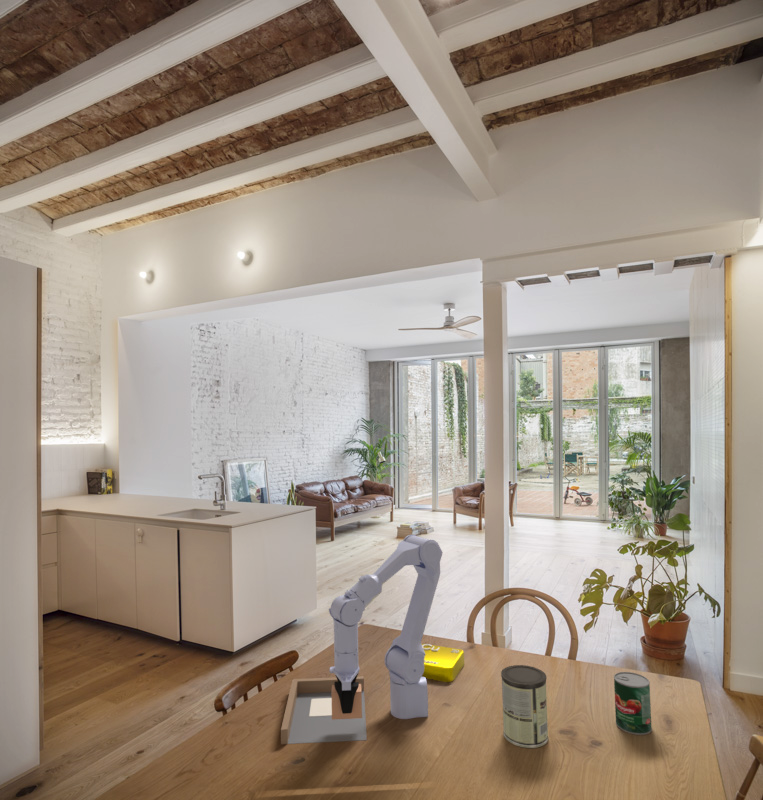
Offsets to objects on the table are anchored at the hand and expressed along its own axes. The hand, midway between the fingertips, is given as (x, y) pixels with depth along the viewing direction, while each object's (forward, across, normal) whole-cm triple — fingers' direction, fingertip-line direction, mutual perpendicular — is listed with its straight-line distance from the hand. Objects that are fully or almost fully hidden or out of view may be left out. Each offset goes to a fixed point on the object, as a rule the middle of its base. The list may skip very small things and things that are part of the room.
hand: (347, 707), depth 130 cm
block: (+2, 0, 0) cm, 2 cm away
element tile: (+7, -34, +26) cm, 44 cm away
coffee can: (+7, +4, +41) cm, 42 cm away
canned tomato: (+7, +2, +68) cm, 69 cm away
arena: (+6, -9, -5) cm, 12 cm away
